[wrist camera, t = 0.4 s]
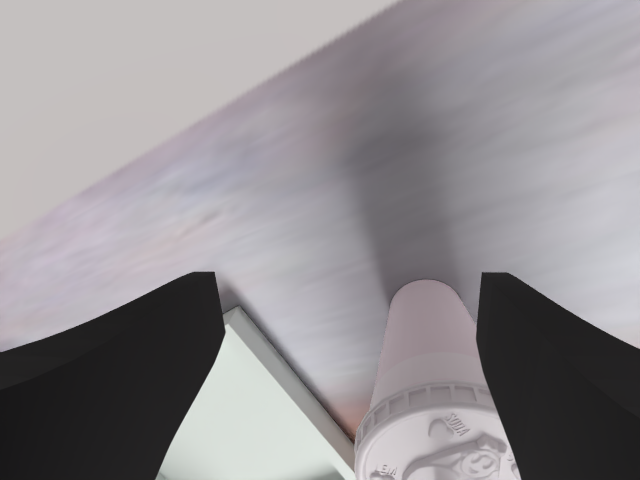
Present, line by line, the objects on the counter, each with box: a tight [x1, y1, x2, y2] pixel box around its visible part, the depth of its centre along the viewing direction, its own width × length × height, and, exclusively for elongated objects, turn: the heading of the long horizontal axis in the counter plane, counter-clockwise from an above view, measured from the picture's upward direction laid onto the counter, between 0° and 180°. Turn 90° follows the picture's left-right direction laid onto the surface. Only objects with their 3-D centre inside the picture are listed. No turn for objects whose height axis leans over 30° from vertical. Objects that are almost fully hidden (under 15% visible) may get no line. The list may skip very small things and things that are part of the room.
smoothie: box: [354, 279, 521, 480], centre depth 15 cm, size 6×6×14 cm
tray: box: [155, 306, 356, 480], centre depth 27 cm, size 15×15×2 cm
